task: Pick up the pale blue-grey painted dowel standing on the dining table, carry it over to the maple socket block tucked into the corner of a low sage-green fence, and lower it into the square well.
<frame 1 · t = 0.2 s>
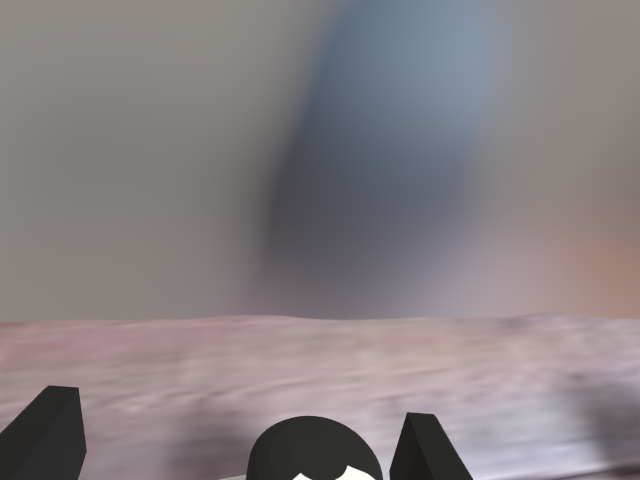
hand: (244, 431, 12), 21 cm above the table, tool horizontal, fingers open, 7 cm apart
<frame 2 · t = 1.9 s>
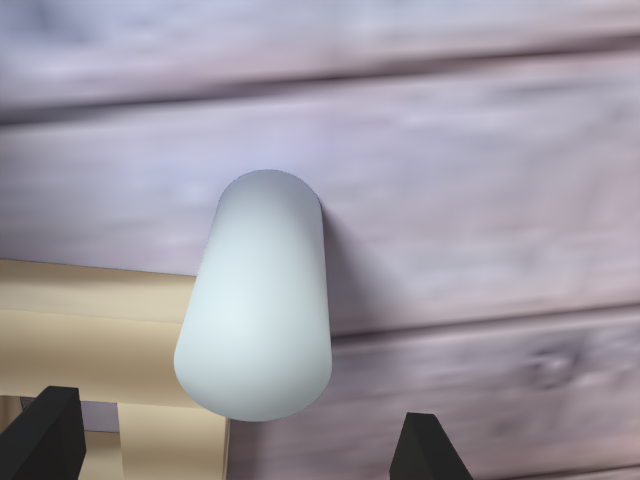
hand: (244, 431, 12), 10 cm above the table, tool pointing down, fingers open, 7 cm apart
socket block: (79, 390, 25), on the table
peg: (269, 218, 21), on the table
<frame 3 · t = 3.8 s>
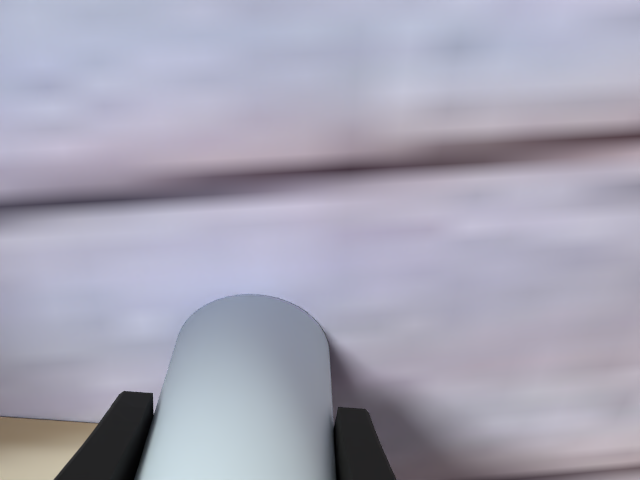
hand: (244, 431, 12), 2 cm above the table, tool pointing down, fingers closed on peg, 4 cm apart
peg: (253, 356, 14), on the table, touching gripper
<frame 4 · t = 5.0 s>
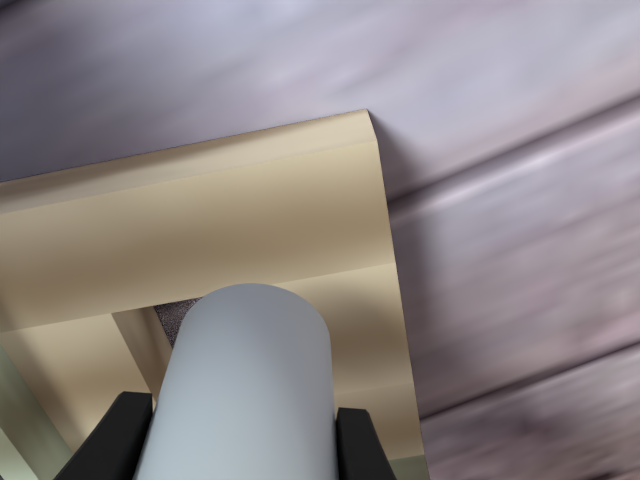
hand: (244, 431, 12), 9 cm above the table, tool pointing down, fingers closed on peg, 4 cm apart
socket block: (223, 307, 22), on the table
peg: (254, 345, 14), point 7 cm above the table, touching gripper
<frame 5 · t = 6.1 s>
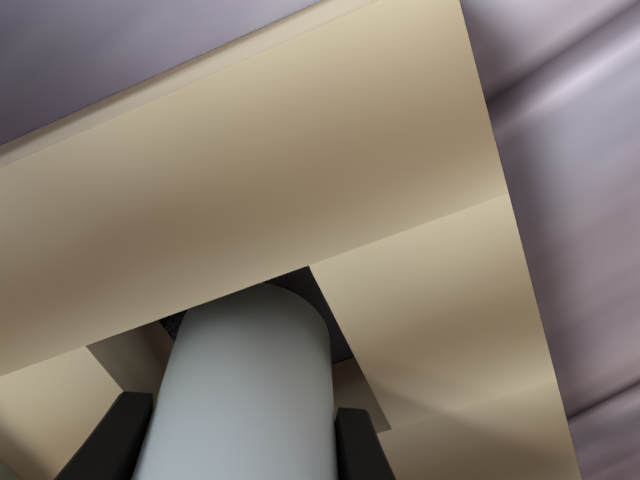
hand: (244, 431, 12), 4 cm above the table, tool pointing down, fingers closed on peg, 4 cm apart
socket block: (257, 312, 16), on the table
peg: (254, 345, 14), point 2 cm above the table, touching gripper
when the fingers open (3 cm above the table, at t = 6.7 s): peg stays where it is, resting in socket block.
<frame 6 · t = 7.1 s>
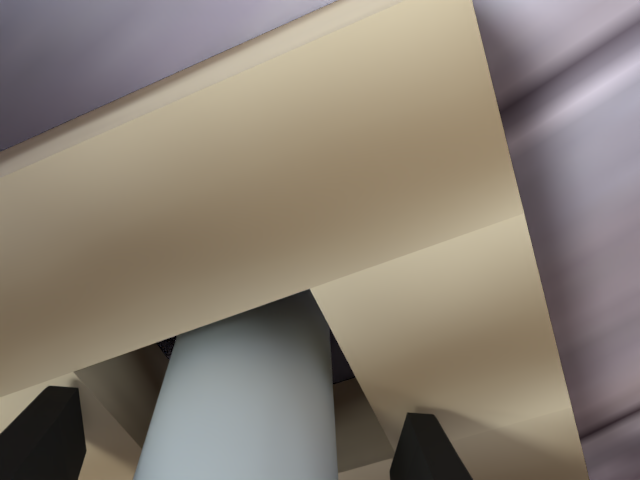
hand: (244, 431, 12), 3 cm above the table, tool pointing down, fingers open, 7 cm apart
socket block: (256, 331, 15), on the table
peg: (256, 327, 15), resting in socket block
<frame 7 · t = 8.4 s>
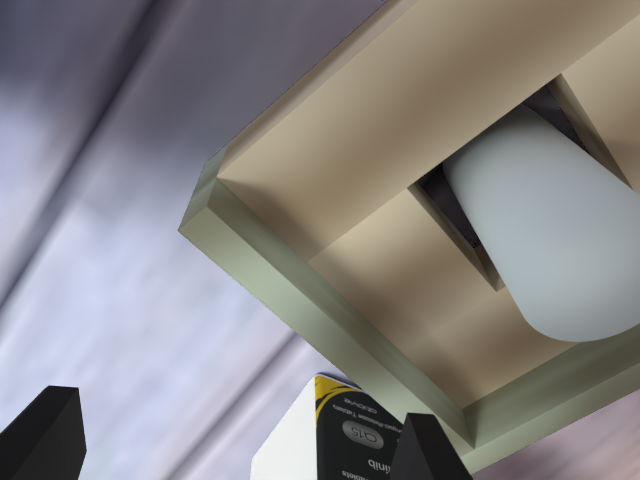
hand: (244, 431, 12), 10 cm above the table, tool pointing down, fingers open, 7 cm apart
socket block: (496, 159, 20), on the table
peg: (496, 155, 20), resting in socket block
medicine box: (342, 434, 28), on the table
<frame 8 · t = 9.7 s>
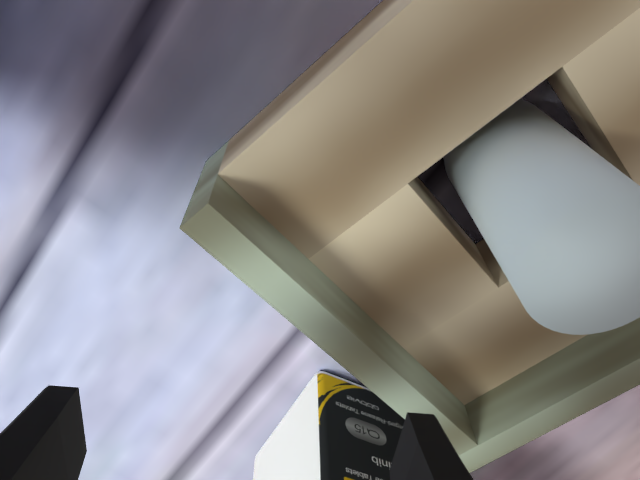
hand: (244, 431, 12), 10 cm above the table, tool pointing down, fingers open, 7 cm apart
socket block: (497, 154, 20), on the table
peg: (497, 151, 20), resting in socket block
medicine box: (345, 431, 28), on the table
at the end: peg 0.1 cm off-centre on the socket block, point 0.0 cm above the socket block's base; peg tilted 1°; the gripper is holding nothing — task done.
